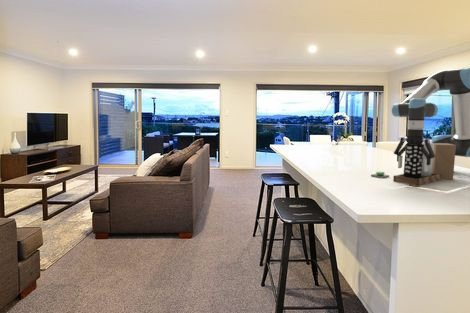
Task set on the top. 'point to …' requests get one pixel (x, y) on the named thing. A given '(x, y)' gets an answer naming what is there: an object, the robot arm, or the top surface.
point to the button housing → (379, 176)
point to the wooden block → (444, 160)
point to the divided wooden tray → (417, 182)
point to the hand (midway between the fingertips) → (412, 169)
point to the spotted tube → (413, 161)
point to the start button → (380, 173)
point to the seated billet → (429, 172)
